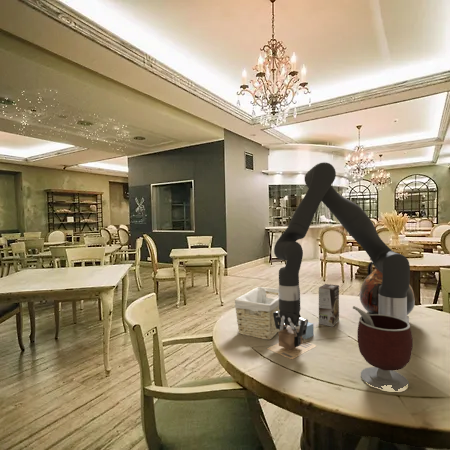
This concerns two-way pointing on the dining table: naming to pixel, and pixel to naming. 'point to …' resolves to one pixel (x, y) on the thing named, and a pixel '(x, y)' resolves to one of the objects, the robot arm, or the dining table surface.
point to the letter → (292, 350)
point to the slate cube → (308, 331)
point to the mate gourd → (384, 348)
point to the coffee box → (328, 304)
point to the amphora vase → (371, 292)
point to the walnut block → (287, 338)
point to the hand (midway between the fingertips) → (290, 343)
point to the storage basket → (257, 313)
